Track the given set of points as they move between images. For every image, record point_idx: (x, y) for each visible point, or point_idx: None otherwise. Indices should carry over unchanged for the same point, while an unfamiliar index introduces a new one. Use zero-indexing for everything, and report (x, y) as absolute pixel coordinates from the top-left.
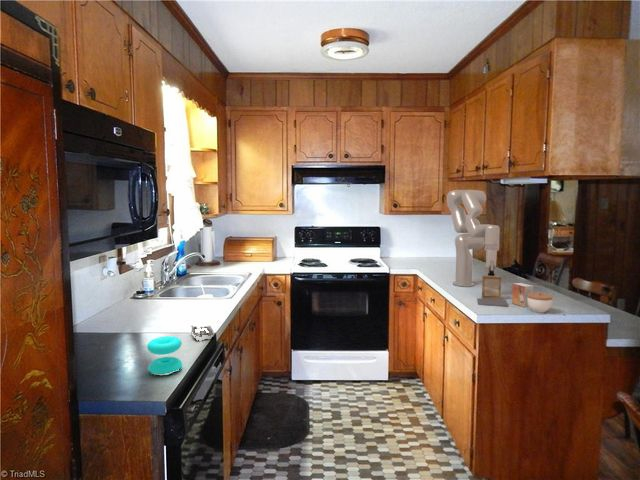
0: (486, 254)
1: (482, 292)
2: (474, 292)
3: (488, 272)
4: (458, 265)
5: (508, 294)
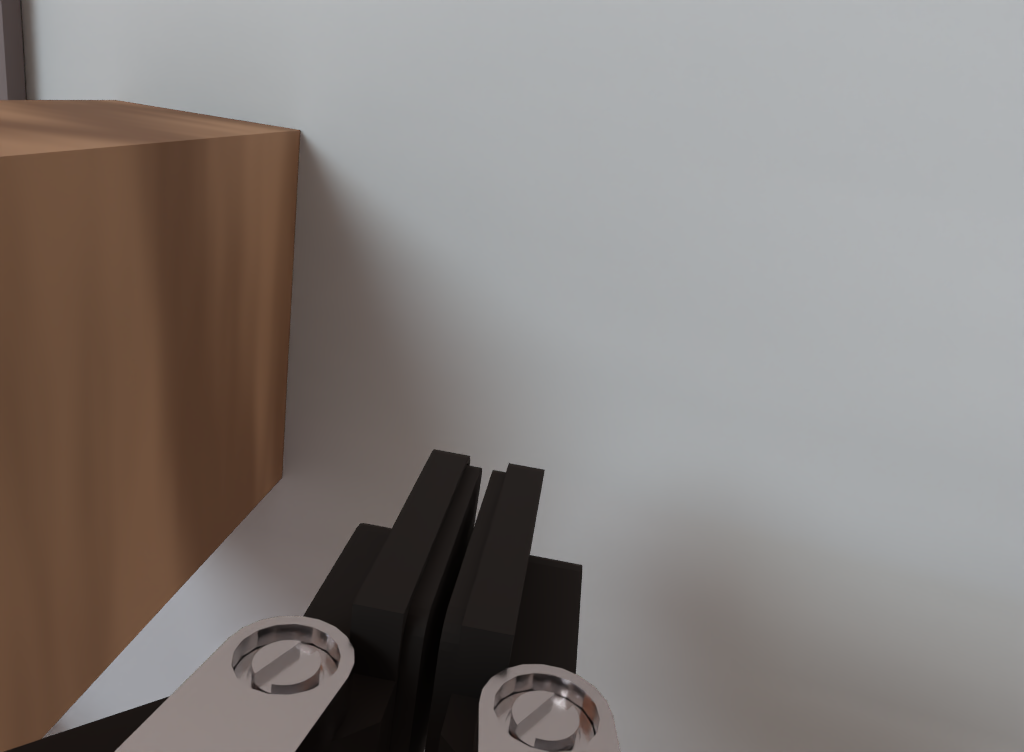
0: None
1: (9, 102)
2: (826, 35)
3: (591, 696)
4: None
5: (660, 725)
